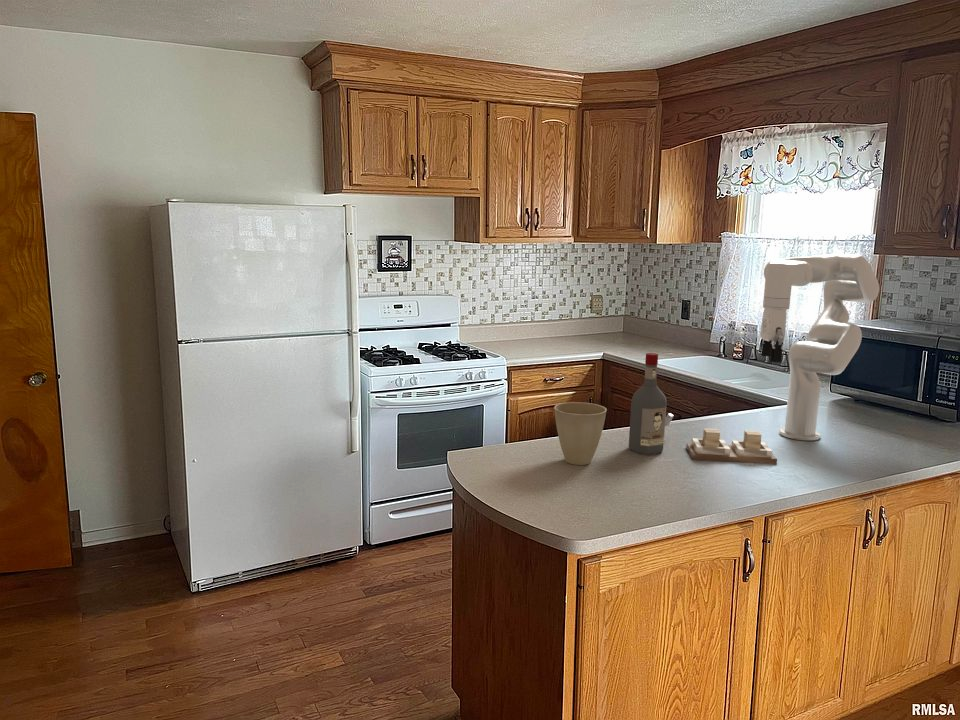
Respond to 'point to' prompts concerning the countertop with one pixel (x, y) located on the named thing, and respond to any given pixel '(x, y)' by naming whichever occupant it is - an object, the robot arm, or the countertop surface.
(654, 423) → the liquor
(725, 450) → the board
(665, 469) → the countertop surface
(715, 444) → the tan wooden block
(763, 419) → the countertop surface
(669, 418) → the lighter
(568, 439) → the plant pot
